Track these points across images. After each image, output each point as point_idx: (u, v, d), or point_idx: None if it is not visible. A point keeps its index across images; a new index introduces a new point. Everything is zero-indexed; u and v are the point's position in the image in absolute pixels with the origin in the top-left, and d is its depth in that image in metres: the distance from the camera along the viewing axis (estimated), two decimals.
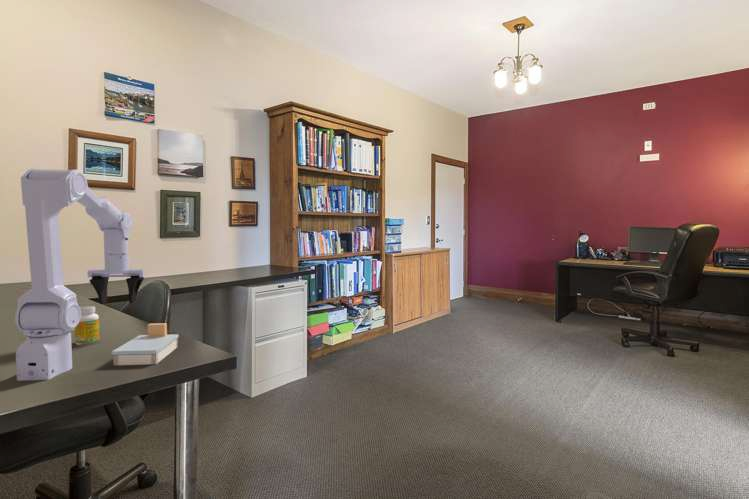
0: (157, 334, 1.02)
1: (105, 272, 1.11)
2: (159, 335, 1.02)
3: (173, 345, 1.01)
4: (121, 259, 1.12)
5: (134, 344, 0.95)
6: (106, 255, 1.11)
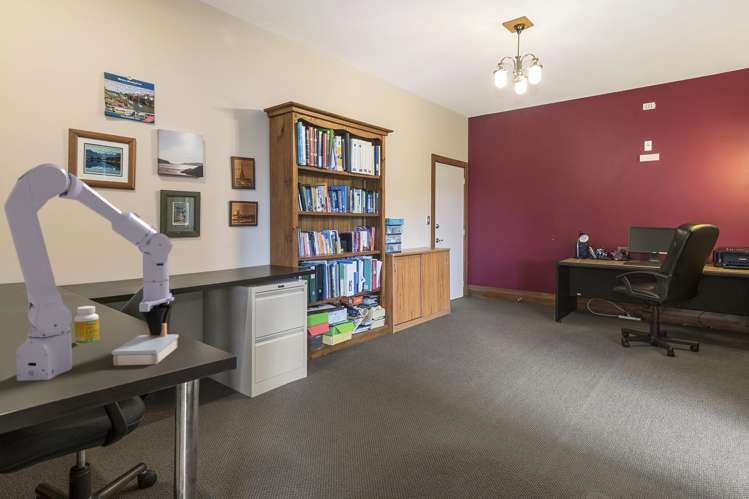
0: None
1: None
2: (159, 335, 1.02)
3: (173, 345, 1.01)
4: (144, 287, 1.00)
5: (134, 344, 0.95)
6: None
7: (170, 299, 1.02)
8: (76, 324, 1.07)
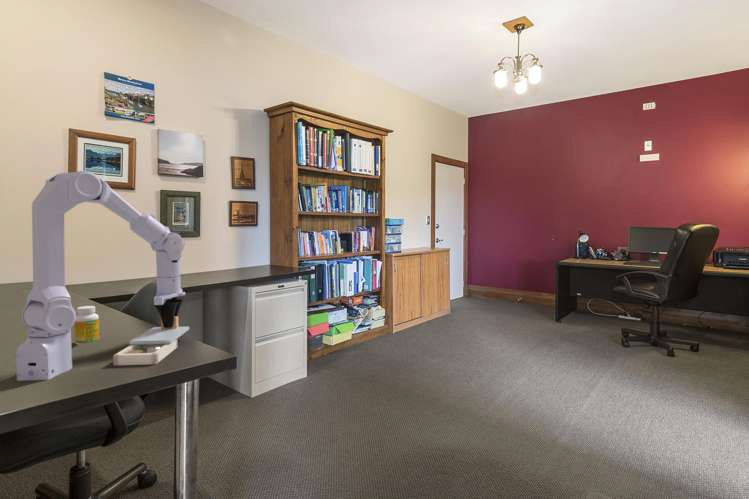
0: None
1: None
2: (171, 327, 1.10)
3: (173, 345, 1.01)
4: (158, 282, 1.07)
5: (149, 335, 1.03)
6: None
7: (182, 294, 1.09)
8: (76, 324, 1.07)
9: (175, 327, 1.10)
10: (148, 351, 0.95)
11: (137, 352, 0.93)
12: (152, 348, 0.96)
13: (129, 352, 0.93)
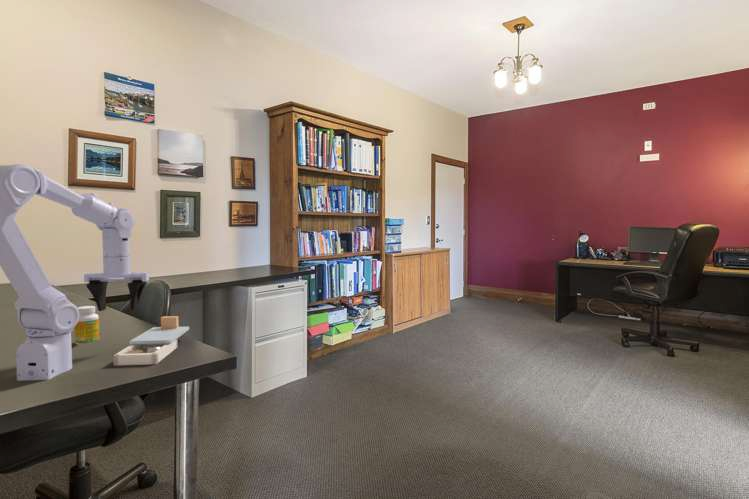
0: (169, 326, 1.10)
1: (104, 276, 1.00)
2: (171, 327, 1.10)
3: (173, 345, 1.01)
4: (122, 262, 1.01)
5: (149, 335, 1.03)
6: (105, 257, 0.99)
7: None
8: (76, 324, 1.07)
9: (175, 327, 1.10)
10: (147, 350, 0.96)
11: (137, 352, 0.93)
12: (151, 348, 0.96)
13: (129, 352, 0.93)
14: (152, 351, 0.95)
